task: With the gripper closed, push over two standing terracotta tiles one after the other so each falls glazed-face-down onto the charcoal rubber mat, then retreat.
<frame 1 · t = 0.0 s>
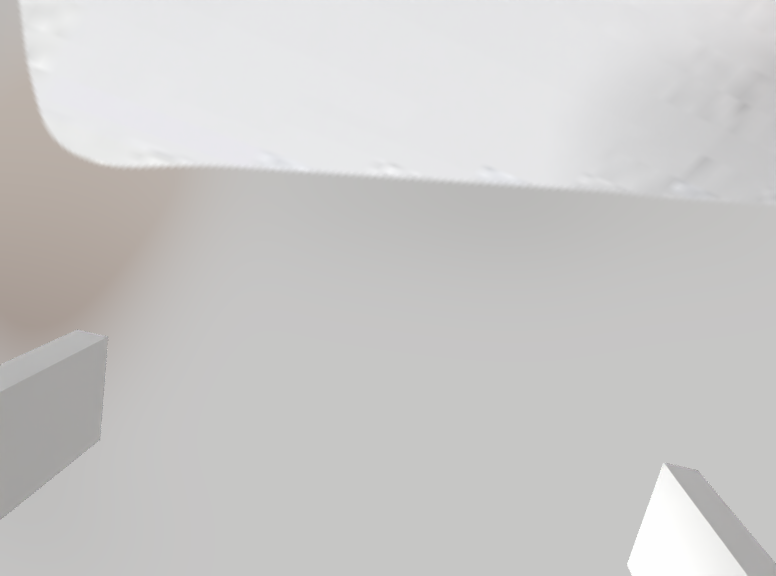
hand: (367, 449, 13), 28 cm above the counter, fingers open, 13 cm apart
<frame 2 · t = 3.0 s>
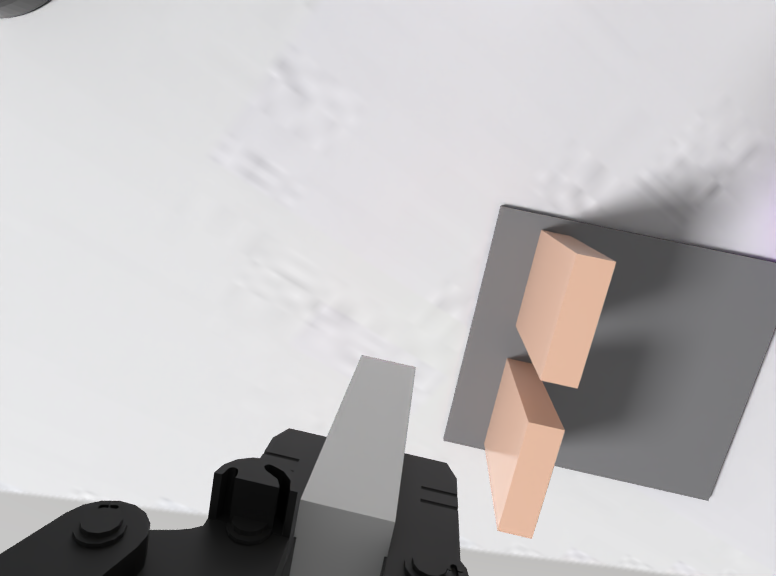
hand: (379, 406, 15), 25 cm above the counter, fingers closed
tile b: (508, 404, 40), resting on mat
tile a: (542, 281, 38), resting on mat
mat: (607, 358, 39), on the counter
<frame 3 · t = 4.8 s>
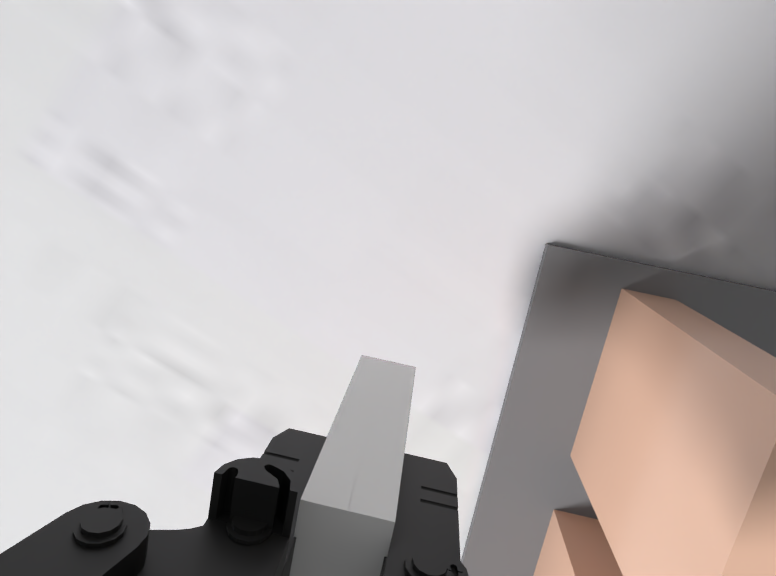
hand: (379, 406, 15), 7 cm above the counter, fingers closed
tile a: (620, 381, 21), resting on mat
mat: (733, 511, 22), on the counter
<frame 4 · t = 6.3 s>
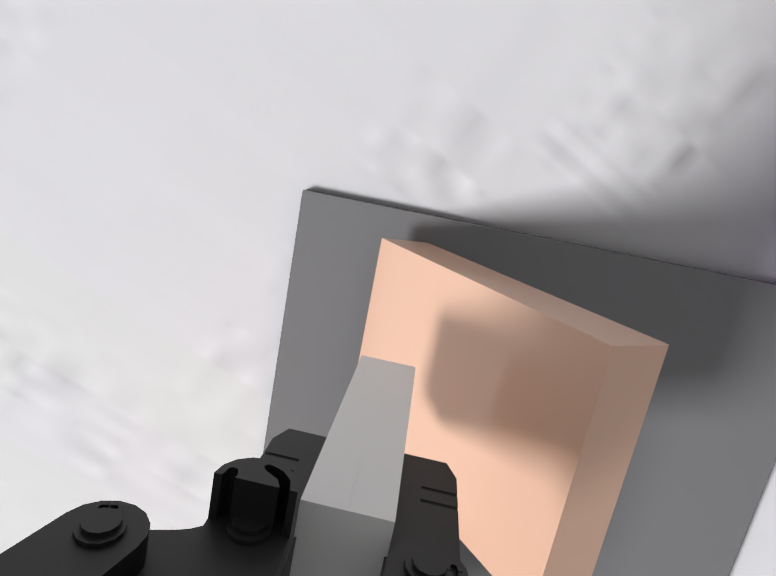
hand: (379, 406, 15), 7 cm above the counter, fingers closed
tile a: (387, 329, 21), point 1 cm above the counter, tilted 35°, touching mat
mat: (506, 452, 23), on the counter
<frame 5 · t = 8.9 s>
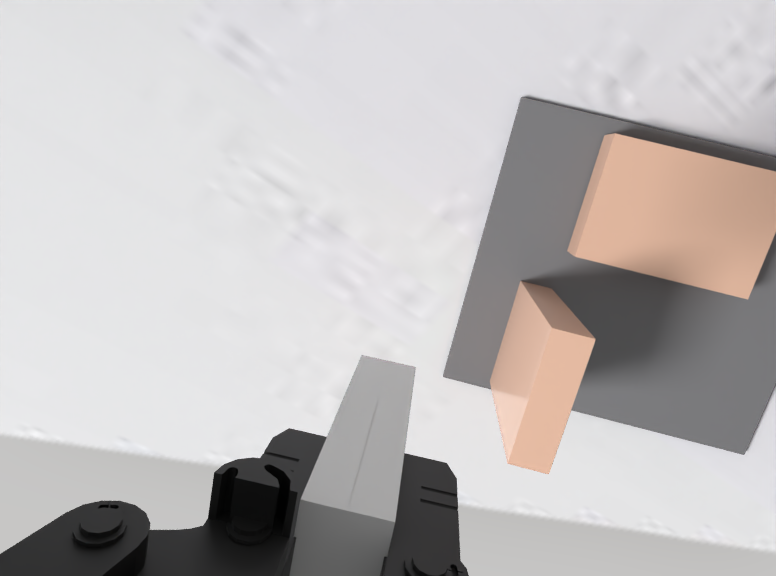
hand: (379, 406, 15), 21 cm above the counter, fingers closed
tile b: (519, 336, 35), resting on mat
tile a: (589, 195, 31), point 2 cm above the counter, tilted 90°, touching mat
mat: (636, 284, 34), on the counter
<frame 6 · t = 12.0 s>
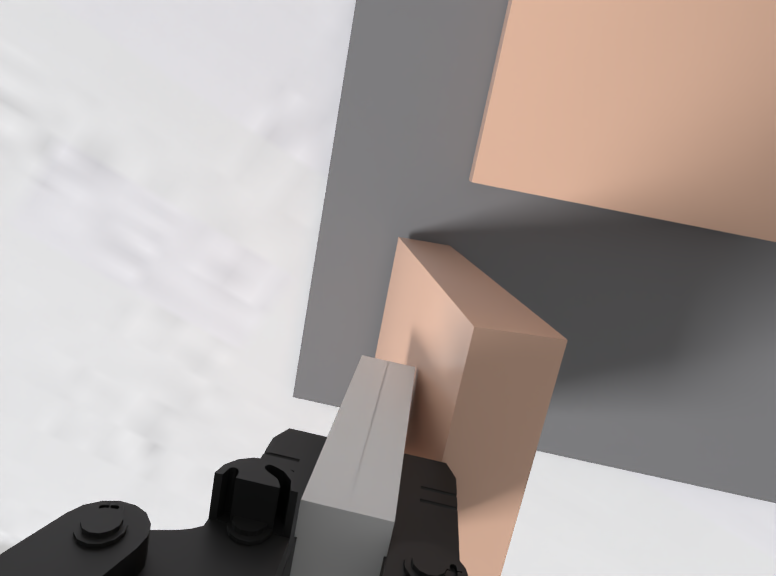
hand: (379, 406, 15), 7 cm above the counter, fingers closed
tile b: (406, 328, 21), point 1 cm above the counter, tilted 13°, touching mat
tile a: (493, 75, 18), point 2 cm above the counter, tilted 90°, touching mat
mat: (589, 231, 20), on the counter
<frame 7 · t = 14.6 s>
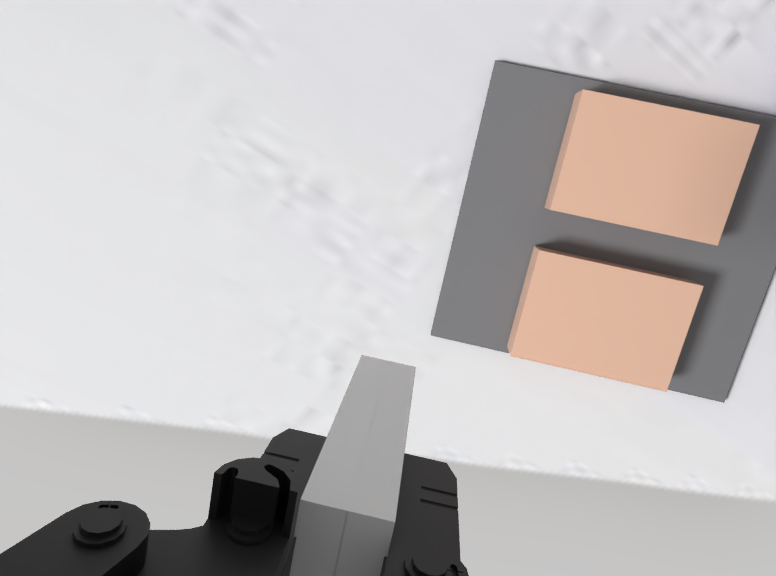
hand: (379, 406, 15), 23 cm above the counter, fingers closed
tile b: (522, 300, 35), point 2 cm above the counter, tilted 90°, touching mat
tile a: (562, 151, 33), point 2 cm above the counter, tilted 90°, touching mat
mat: (612, 238, 35), on the counter
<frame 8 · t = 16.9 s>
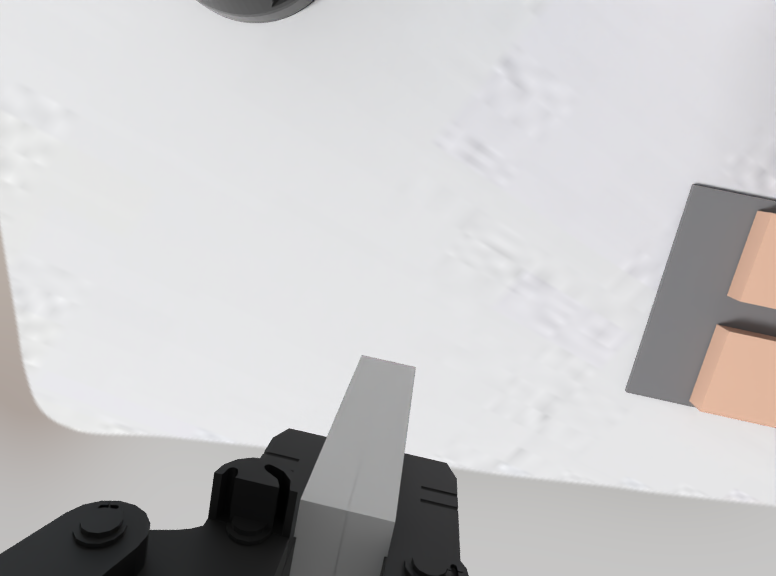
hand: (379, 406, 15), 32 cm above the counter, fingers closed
tile b: (708, 367, 45), point 2 cm above the counter, tilted 90°, touching mat
tile a: (748, 256, 43), point 2 cm above the counter, tilted 90°, touching mat
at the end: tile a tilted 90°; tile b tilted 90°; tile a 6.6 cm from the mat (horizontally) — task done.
